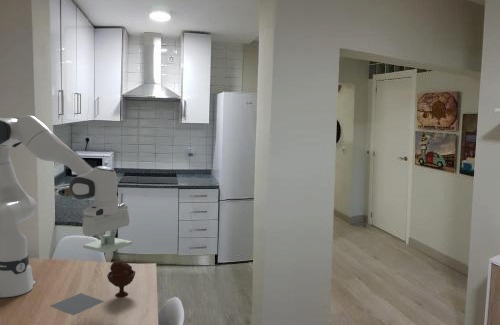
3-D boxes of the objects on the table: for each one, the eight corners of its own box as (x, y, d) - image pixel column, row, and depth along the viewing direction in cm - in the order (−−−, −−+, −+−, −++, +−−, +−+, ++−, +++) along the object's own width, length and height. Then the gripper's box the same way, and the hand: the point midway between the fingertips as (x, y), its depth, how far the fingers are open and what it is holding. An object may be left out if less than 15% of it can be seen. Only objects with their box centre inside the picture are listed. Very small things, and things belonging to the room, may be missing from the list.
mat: (49, 306, 160) (49, 305, 160) (81, 294, 172) (81, 293, 172) (73, 316, 153) (73, 315, 152) (104, 302, 165) (104, 301, 164)
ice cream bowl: (127, 302, 165) (127, 266, 163) (102, 299, 167) (101, 263, 165) (140, 292, 175) (140, 257, 173) (115, 289, 177) (115, 255, 176)
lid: (83, 247, 163) (83, 237, 163) (110, 239, 174) (109, 229, 174) (105, 253, 156) (105, 242, 156) (132, 244, 167) (131, 234, 167)
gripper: (121, 202, 174) (122, 234, 176) (79, 211, 157) (80, 247, 158) (132, 203, 171) (133, 236, 172) (90, 213, 154) (91, 249, 155)
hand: (107, 241), depth 165 cm, fingers closed on lid, 2 cm apart
